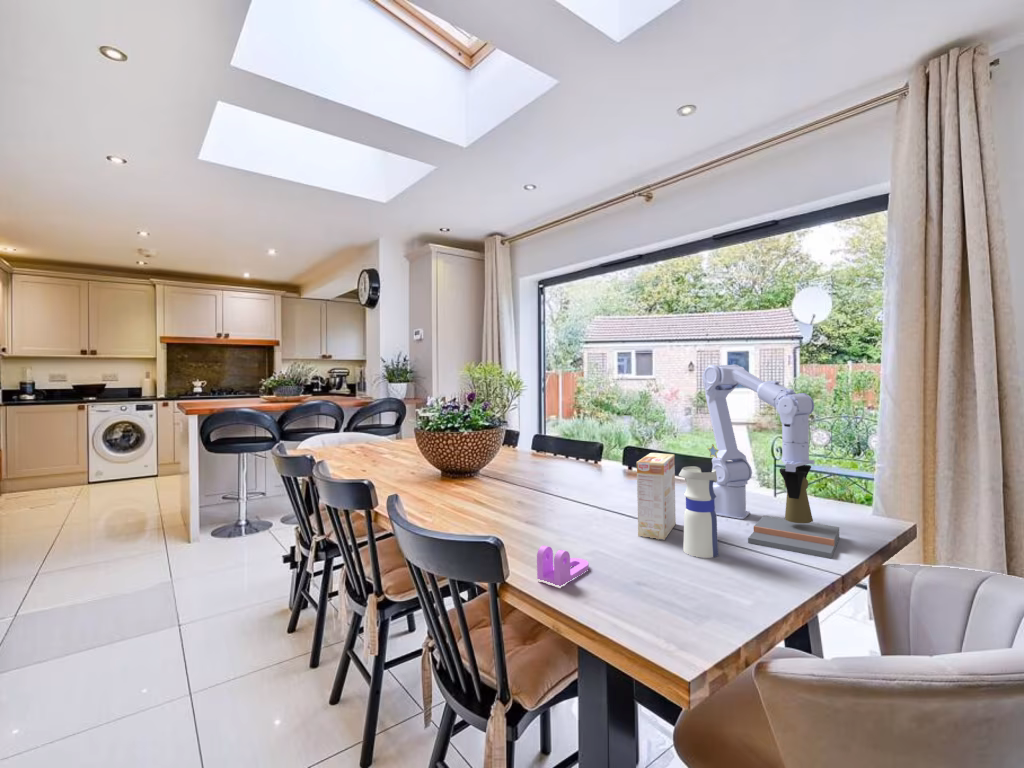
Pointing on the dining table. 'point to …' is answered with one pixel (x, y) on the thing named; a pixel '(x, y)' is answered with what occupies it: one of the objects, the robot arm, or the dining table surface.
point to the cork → (799, 506)
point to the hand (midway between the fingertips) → (795, 495)
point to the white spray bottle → (700, 511)
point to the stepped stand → (795, 536)
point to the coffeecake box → (656, 495)
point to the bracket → (558, 566)
